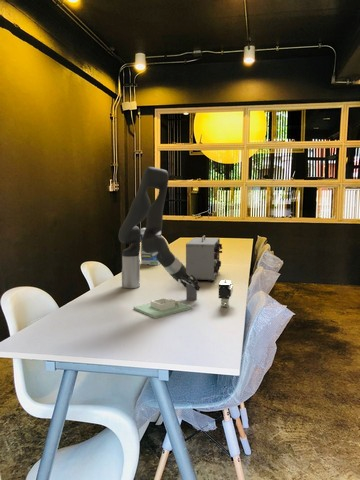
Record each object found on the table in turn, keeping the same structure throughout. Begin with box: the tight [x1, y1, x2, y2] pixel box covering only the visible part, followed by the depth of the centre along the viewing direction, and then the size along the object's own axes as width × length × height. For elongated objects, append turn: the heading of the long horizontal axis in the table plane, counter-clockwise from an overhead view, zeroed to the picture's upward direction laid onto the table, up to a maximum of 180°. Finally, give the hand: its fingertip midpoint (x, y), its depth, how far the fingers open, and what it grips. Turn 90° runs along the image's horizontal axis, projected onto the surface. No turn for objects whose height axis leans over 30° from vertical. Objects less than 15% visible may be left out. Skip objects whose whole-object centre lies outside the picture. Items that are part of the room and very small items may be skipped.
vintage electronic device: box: [185, 235, 223, 283], centre depth 225 cm, size 32×18×25 cm, turn 168°
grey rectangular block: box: [185, 281, 198, 301], centre depth 177 cm, size 4×4×10 cm
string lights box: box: [140, 227, 162, 266], centre depth 266 cm, size 13×8×26 cm, turn 73°
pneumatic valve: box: [218, 279, 234, 308], centre depth 166 cm, size 6×12×12 cm, turn 166°
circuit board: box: [133, 297, 193, 319], centre depth 163 cm, size 20×16×4 cm
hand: (192, 287), depth 177 cm, fingers open, 8 cm apart
